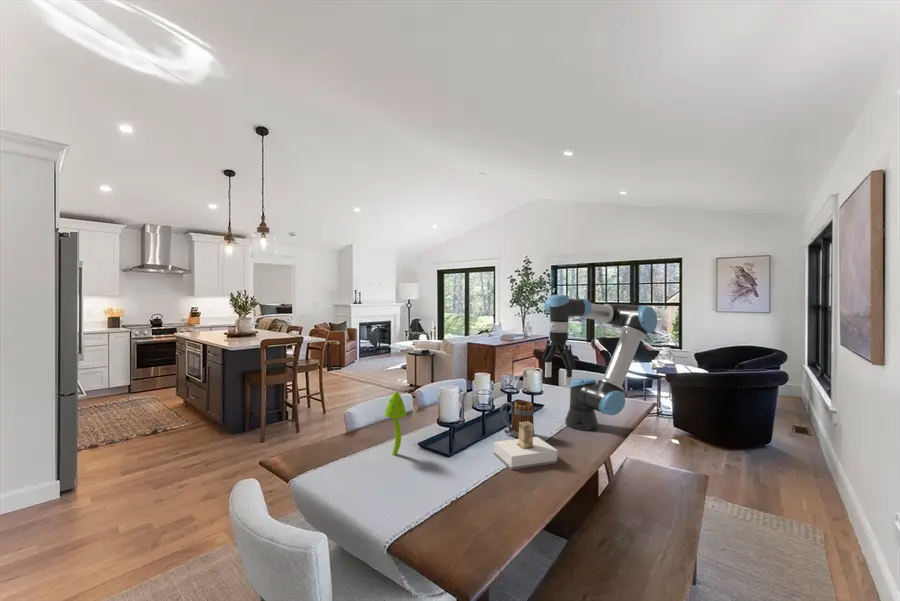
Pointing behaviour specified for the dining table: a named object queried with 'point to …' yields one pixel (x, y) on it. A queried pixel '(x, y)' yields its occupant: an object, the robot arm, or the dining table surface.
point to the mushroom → (396, 417)
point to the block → (525, 453)
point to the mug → (518, 416)
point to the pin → (525, 435)
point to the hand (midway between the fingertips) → (557, 380)
